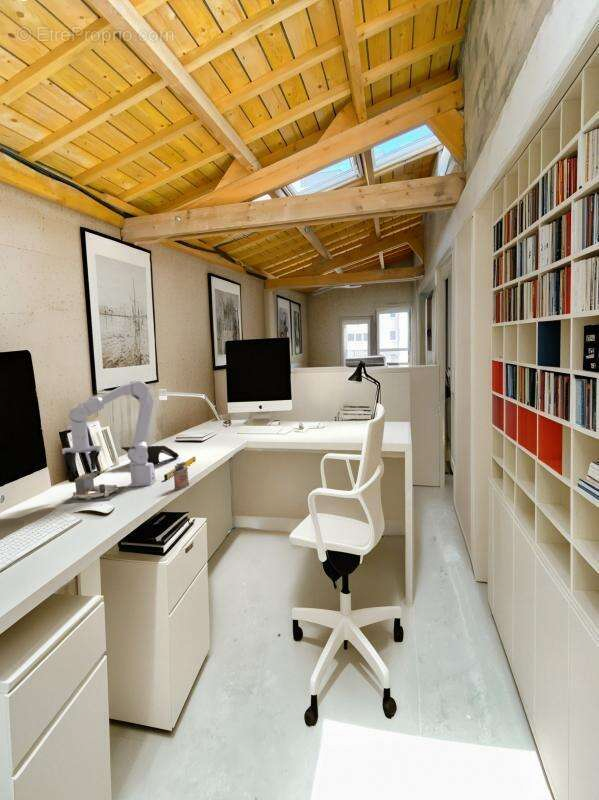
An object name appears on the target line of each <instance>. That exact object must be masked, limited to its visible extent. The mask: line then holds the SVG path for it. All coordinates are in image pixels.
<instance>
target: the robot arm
mask: <svg viewBox="0 0 599 800" xmlns="http://www.w3.org/2000/svg"><path fill="white" fill-rule="evenodd" d="M150 389H151V388H150V387H149V386H148V384H146V383H145V382H144V381H139V380H132V381H130V382H128V383H127V382H126V383H124V384H121V385H119V386H118V387H116V388H115V389H113V390H111V391H109V392H107V393H106V394H104V395H102V396H101V397H100V396H90V397H88V399H87V400H86V401H84V402H82V403H81V402H79V403H78V404H77V405H78V406H73V407H70V409H69V410H68V413H67V417H68V418H69V420H70V431H71V440H72V446H73V447H64V448H62V449H61V452H62V453H61V454H62V455H63V456H64V459H65V460H66V462H67V464H69V466H70V469H71V472H76V471H77V462H76V461H77V460H76V458H77V457H76V455H77V454H78V453H87V454H88V455H87V456H89V461H90V468H91V471H95V470H96V467H97V461H98V458H99V456H100V455H99V454H100V452H101V451H102V446H101V445H90V439H89V435H88V434H89V432H88V424H87V417H90V416H91V415H93V414H96V413H97V412H100V411H102V410H103V409H104V408H105V404H109V402H112V401H113V400H116V399H118V398H120V397H122V396H131V397H133V398H135V399H136V401H138V403H139V410H138V417H137V421H136V426H135V427H136V428H135V433H134V437H133V441H132V442H131V444H130V447H131V448H130V449H129V451H128V452H127V458H128V459H129V461H130V462H129V471H130V472H129V473H130V481H131V483H130V484H129V485H128V486H127V487H130V488H131V487H142V486H144V487H145V486H152V485H153V483H155V482H156V481H157V479H156V472H155V466H154V465H155V464H153V463H148V462H147V459H148V453H147V448H148V447H147V446H148V443H147V441H148V435H149V429H150V424H151V418H152V413H153V408H154V399H153V395H152V392H151V391H150Z"/></svg>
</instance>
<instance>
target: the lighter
mask: <svg viewBox="0 0 599 800" xmlns="http://www.w3.org/2000/svg"><path fill="white" fill-rule="evenodd" d="M185 462H186V461H182V462H179V463H176V465H174V469H176V470H175V471H173V474H174V477H173V481H174V491H181V490H183V489H185V488H187V487H189V486H190V482H189V472H188V470H189V469H188V468H189V467H184V465H186V464H185Z"/></svg>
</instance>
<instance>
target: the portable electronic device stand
mask: <svg viewBox="0 0 599 800" xmlns="http://www.w3.org/2000/svg"><path fill="white" fill-rule="evenodd" d="M147 447H148V448H147V453H148V459H147V462H148V463H153V465H159V464H160V454H164V455H167V456H170V457H172V458H174V459H178V458H179V457H180V454H178V453H177V452H176V451H174V450H173V449H171V448H170V447H168V446H165V445H150V446H149V445H147ZM120 448H121V450H123V451H125V452H127V453H128V451H129V449H130V448H131V446H121V447H120ZM158 463H159V464H158Z"/></svg>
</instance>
